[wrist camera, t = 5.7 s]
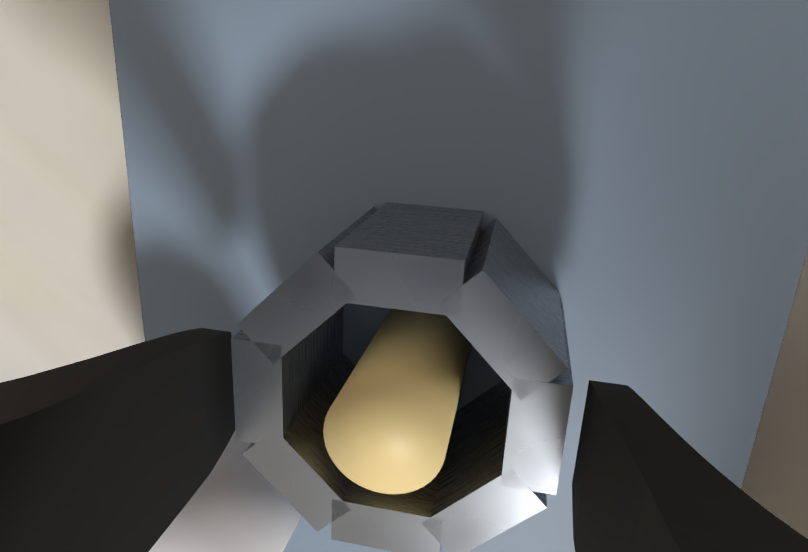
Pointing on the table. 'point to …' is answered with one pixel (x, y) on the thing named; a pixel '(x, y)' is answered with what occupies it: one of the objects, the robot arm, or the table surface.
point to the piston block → (474, 208)
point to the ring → (473, 424)
